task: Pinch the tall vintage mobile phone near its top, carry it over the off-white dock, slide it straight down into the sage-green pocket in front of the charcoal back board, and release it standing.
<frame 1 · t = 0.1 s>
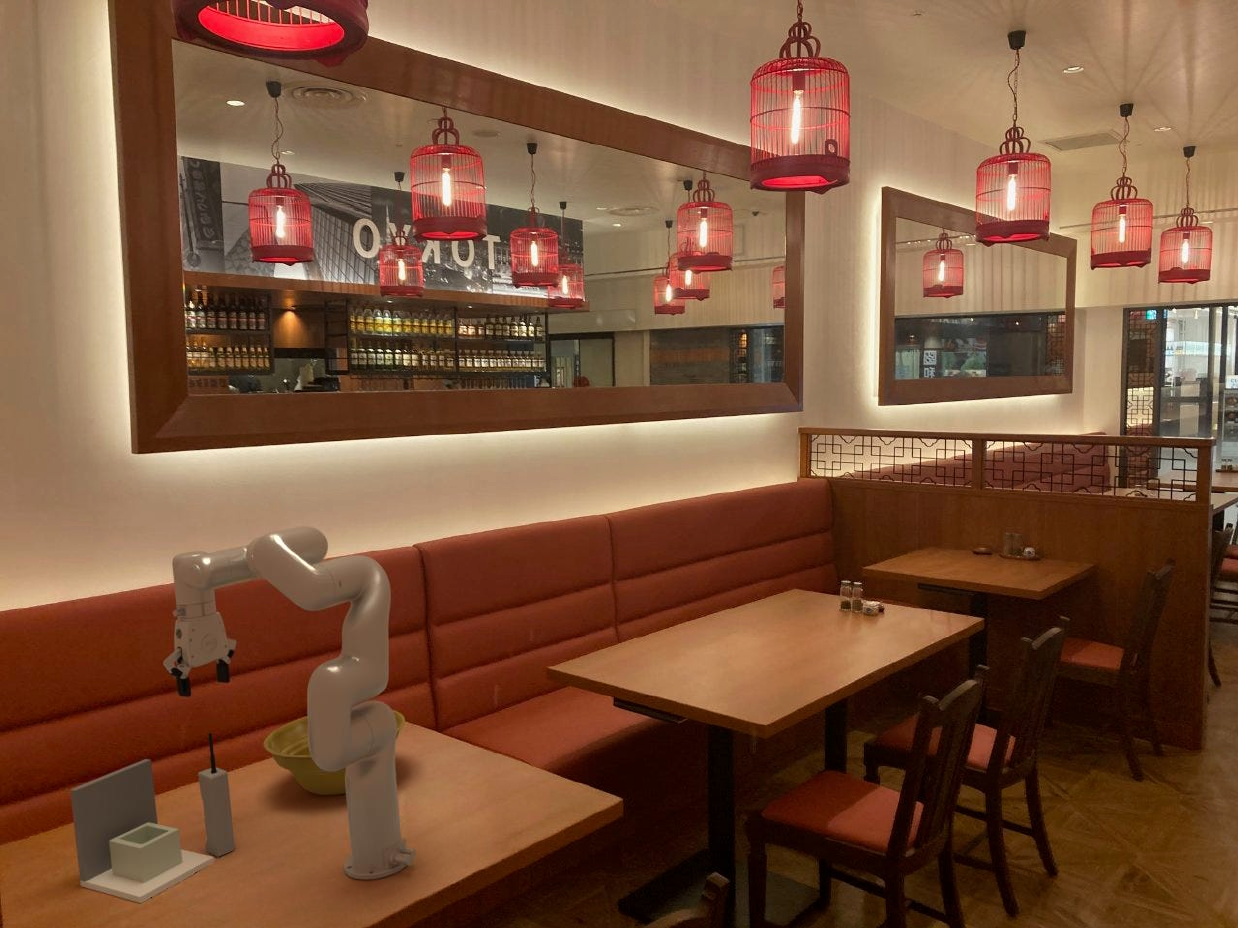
hand: (204, 688, 199), 31 cm above the table, tool pointing down, fingers open, 9 cm apart
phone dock: (148, 874, 183), on the table
vintage mobile phone: (220, 852, 191), on the table
planter bowl: (340, 784, 222), on the table
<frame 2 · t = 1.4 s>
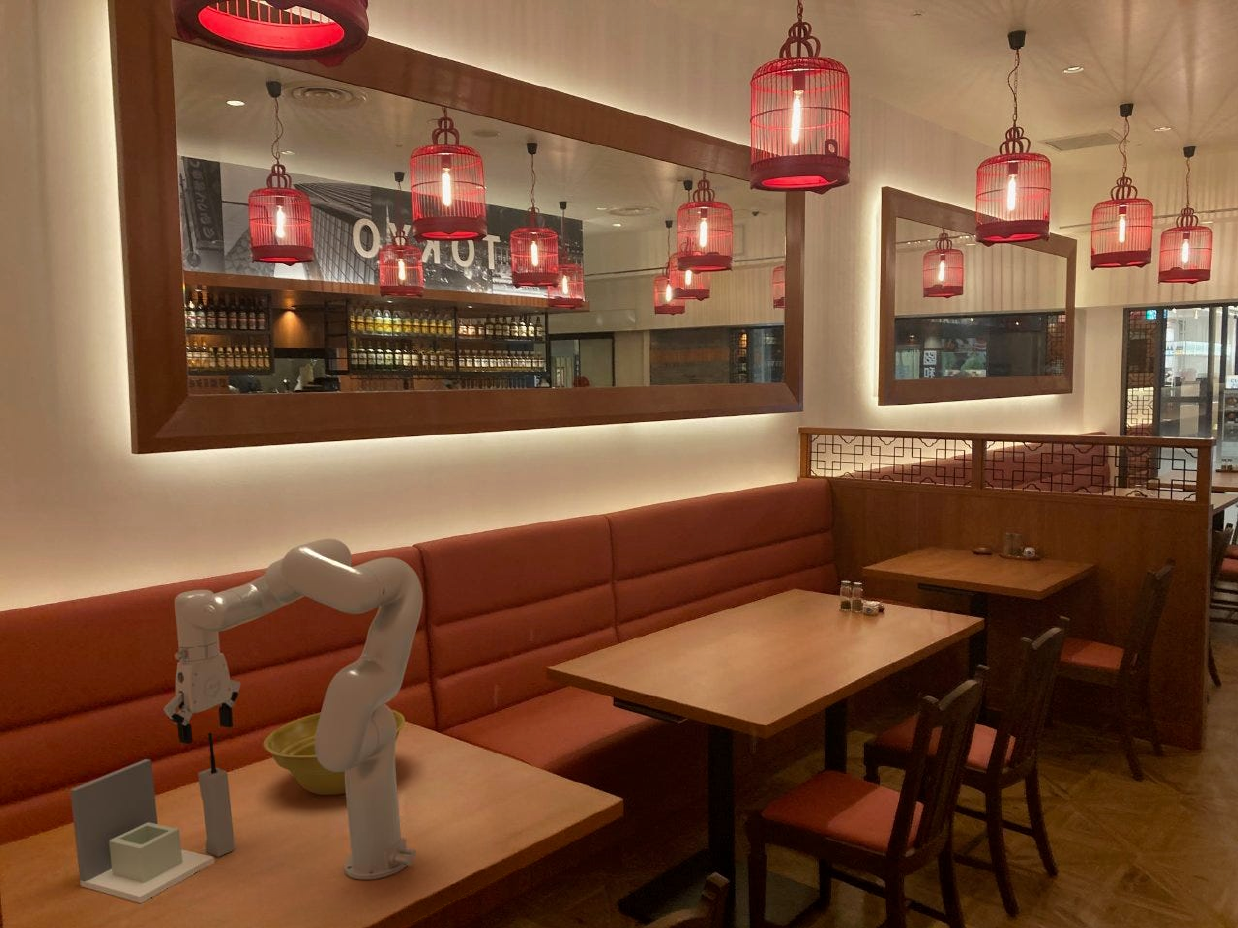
hand: (206, 734, 189), 25 cm above the table, tool pointing down, fingers open, 9 cm apart
nothing on the table moved.
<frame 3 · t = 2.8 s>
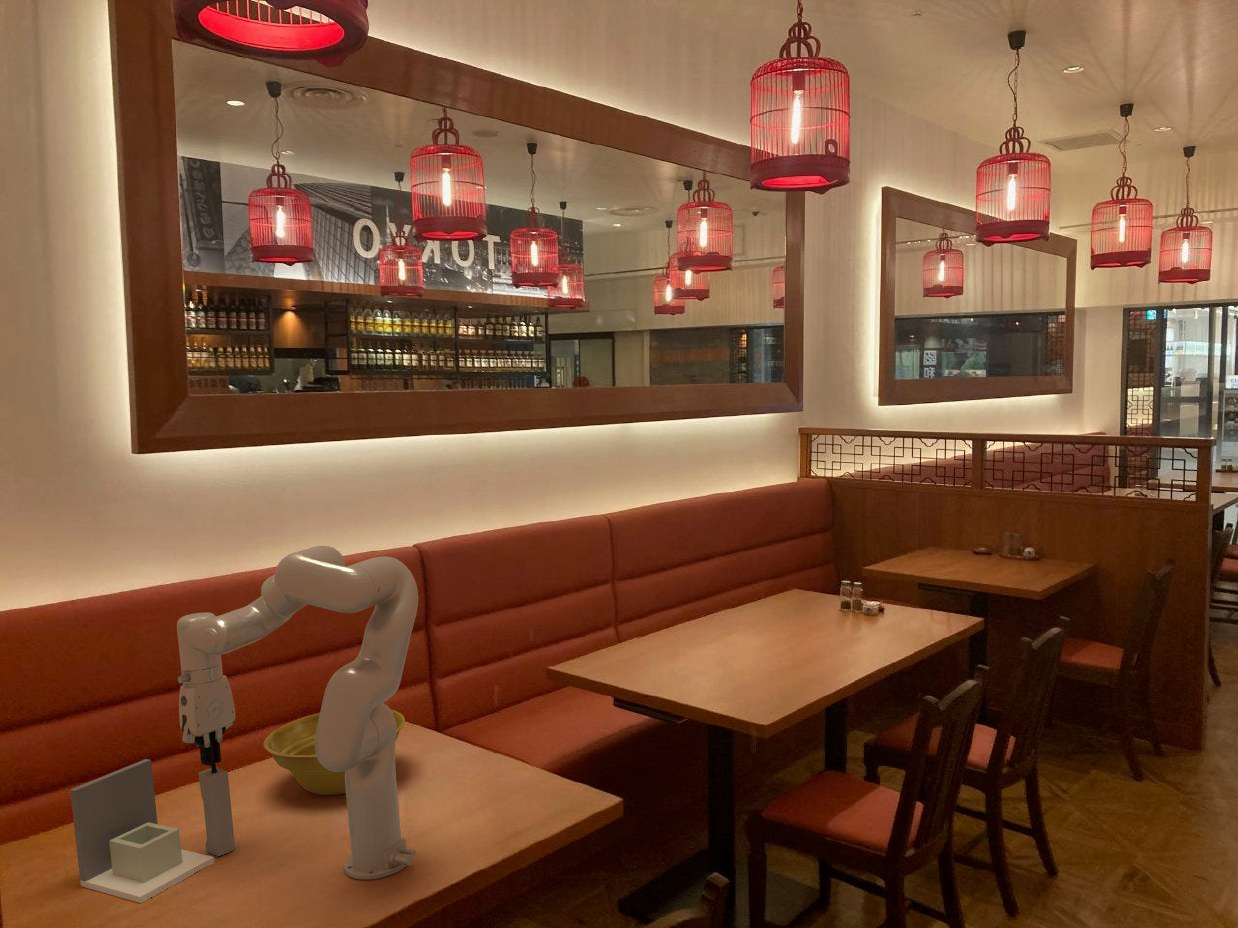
hand: (211, 762, 190), 19 cm above the table, tool pointing down, fingers closed on vintage mobile phone
vintage mobile phone: (220, 852, 191), on the table, touching gripper
everything else where it was.
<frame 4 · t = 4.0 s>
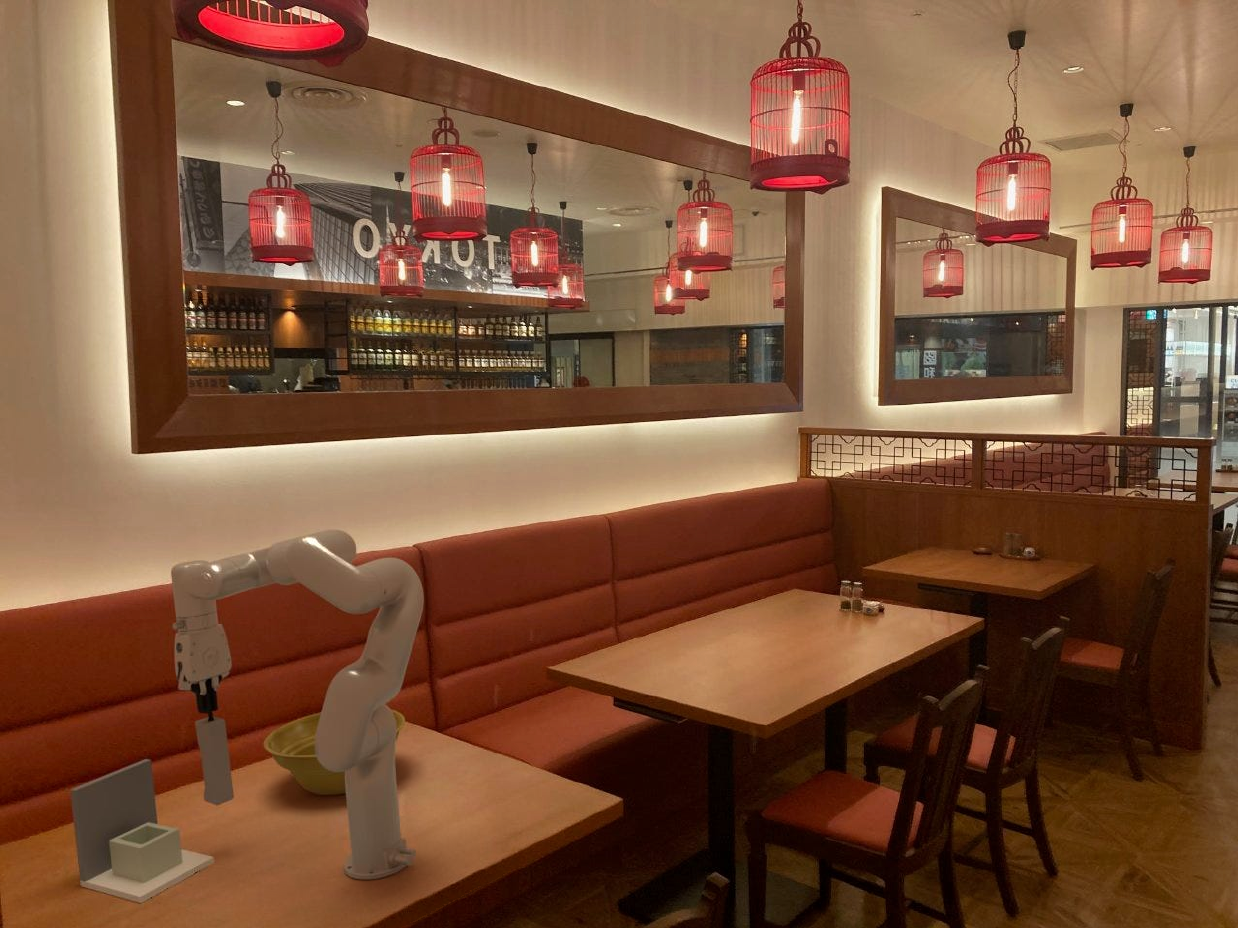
hand: (208, 711, 189), 29 cm above the table, tool pointing down, fingers closed on vintage mobile phone
vintage mobile phone: (219, 801, 190), point 11 cm above the table, touching gripper
everything else where it was.
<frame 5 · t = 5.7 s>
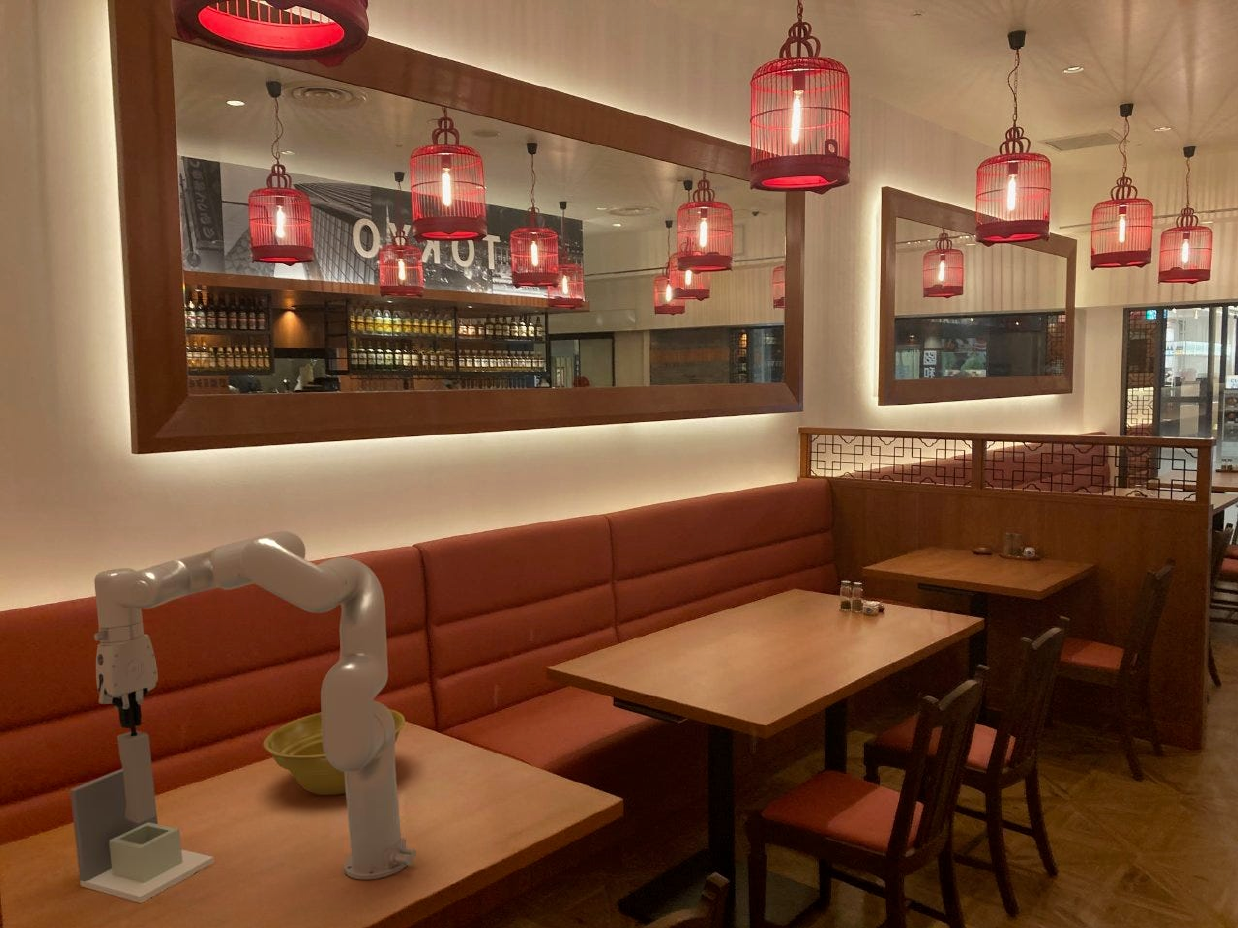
hand: (131, 725, 181), 30 cm above the table, tool pointing down, fingers closed on vintage mobile phone
vintage mobile phone: (141, 818, 183), point 11 cm above the table, touching gripper
everything else where it was.
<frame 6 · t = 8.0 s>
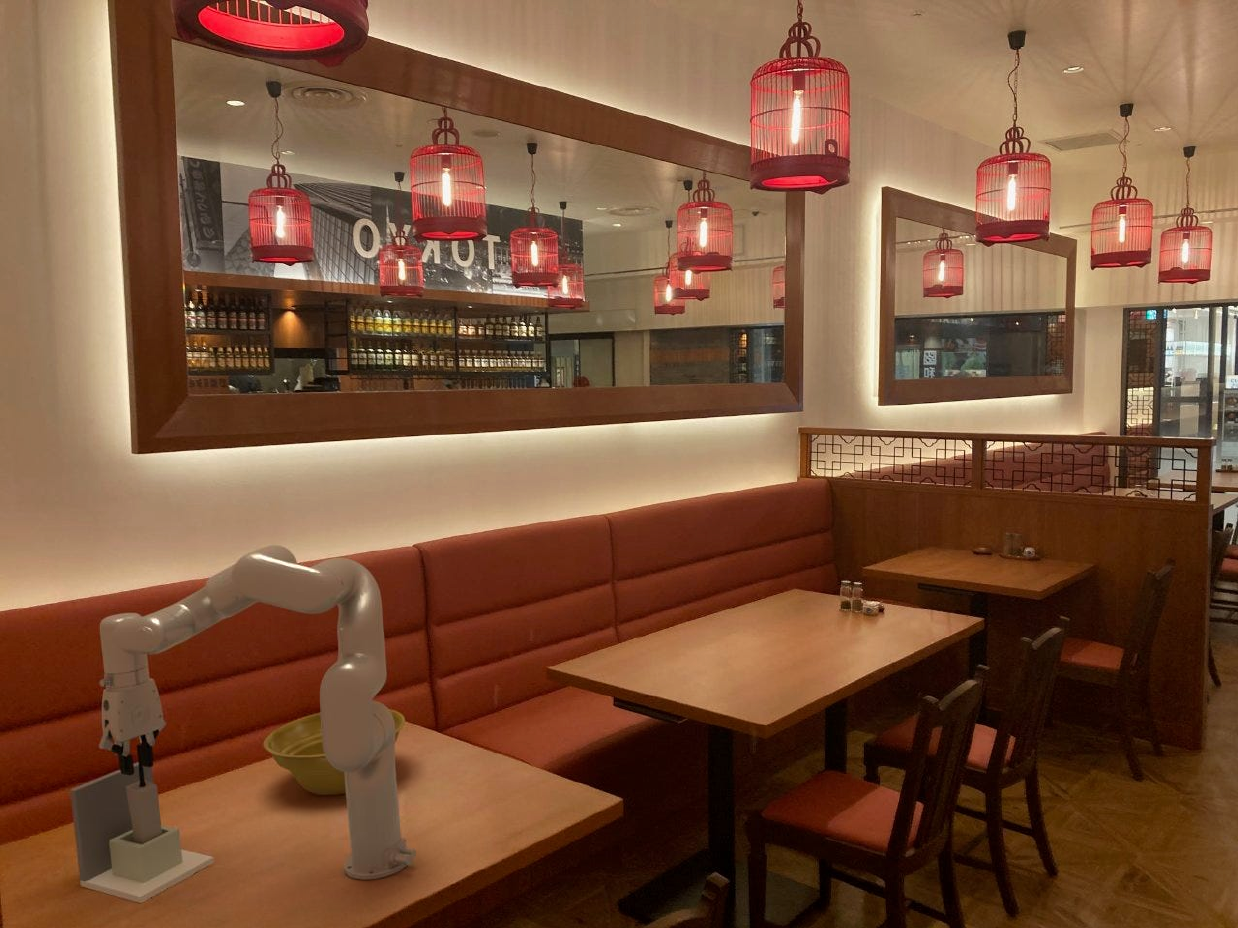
hand: (137, 768, 182), 21 cm above the table, tool pointing down, fingers open, 3 cm apart
vintage mobile phone: (150, 868, 183), point 1 cm above the table, touching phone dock
everything else where it was.
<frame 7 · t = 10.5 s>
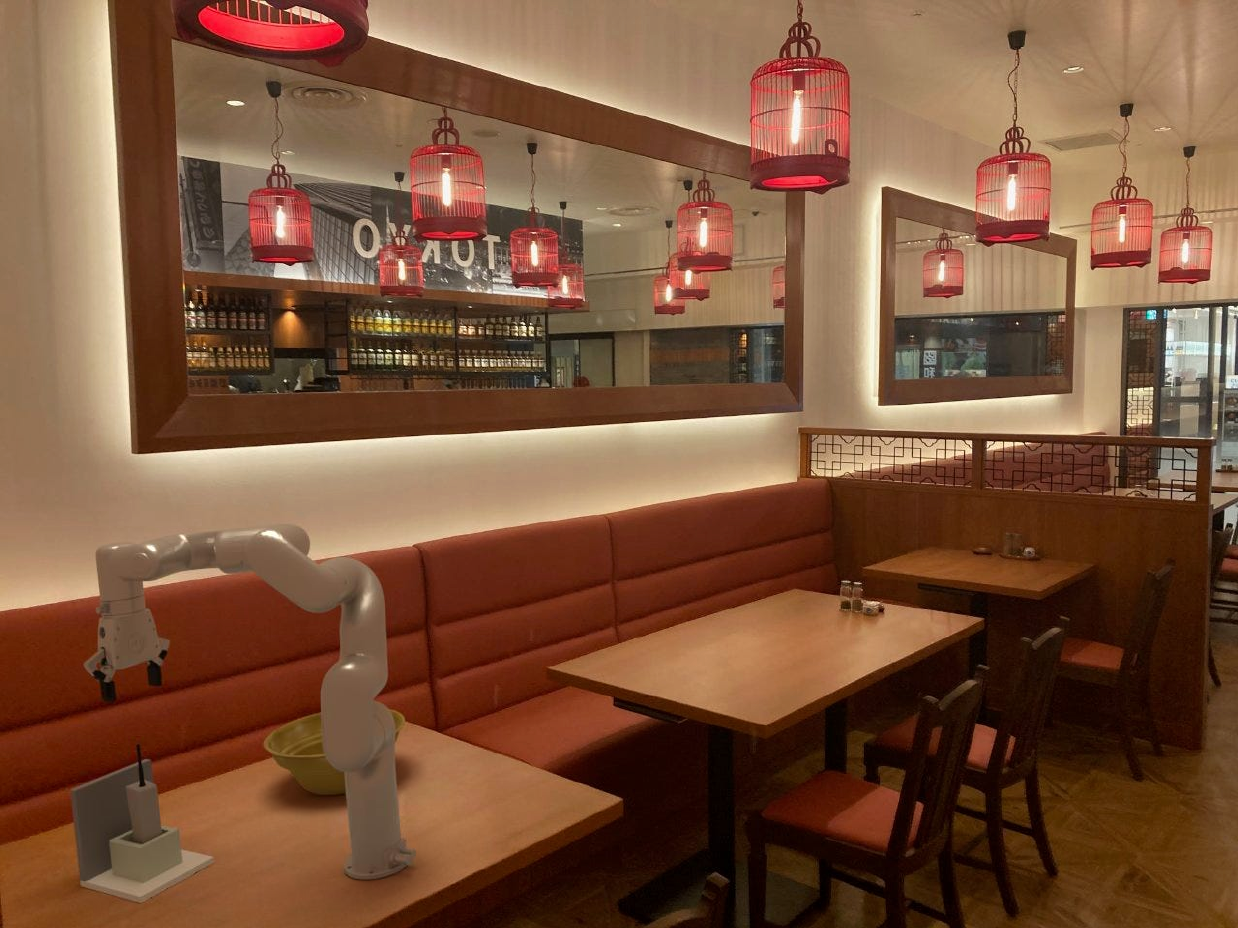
hand: (133, 693, 181), 36 cm above the table, tool pointing down, fingers open, 9 cm apart
nothing on the table moved.
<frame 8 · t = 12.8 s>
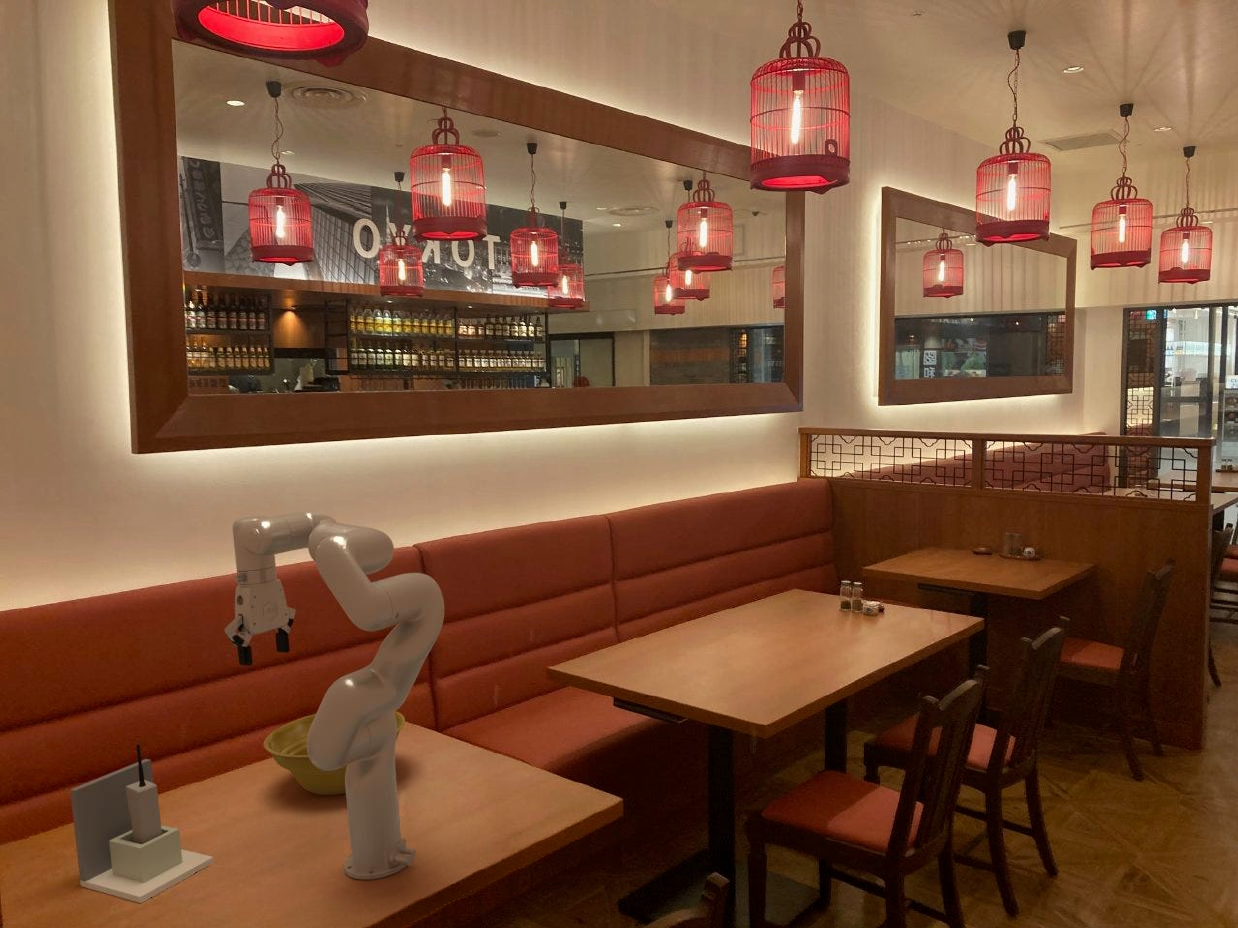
hand: (265, 658, 193), 38 cm above the table, tool pointing down, fingers open, 9 cm apart
nothing on the table moved.
at the end: vintage mobile phone 0.4 cm off-centre on the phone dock, point 1.0 cm above the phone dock's base; vintage mobile phone tilted 0°; the gripper is holding nothing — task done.
